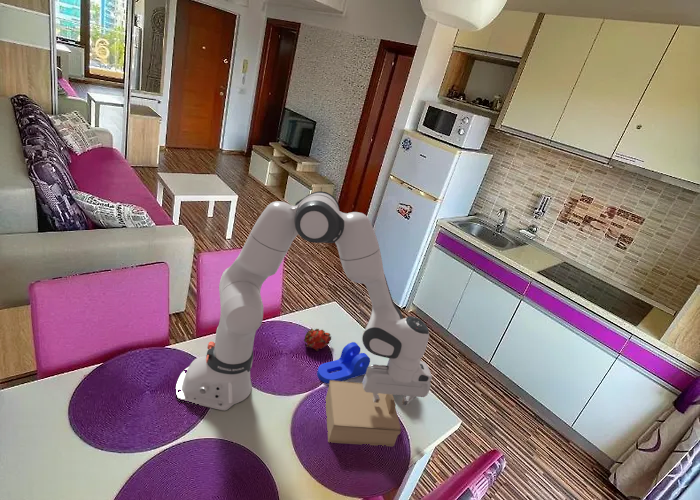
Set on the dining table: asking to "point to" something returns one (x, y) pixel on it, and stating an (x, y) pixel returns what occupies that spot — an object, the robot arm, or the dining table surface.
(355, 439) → the mailer box
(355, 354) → the bracket
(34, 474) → the dining table surface
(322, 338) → the dragon fruit
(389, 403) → the lid
